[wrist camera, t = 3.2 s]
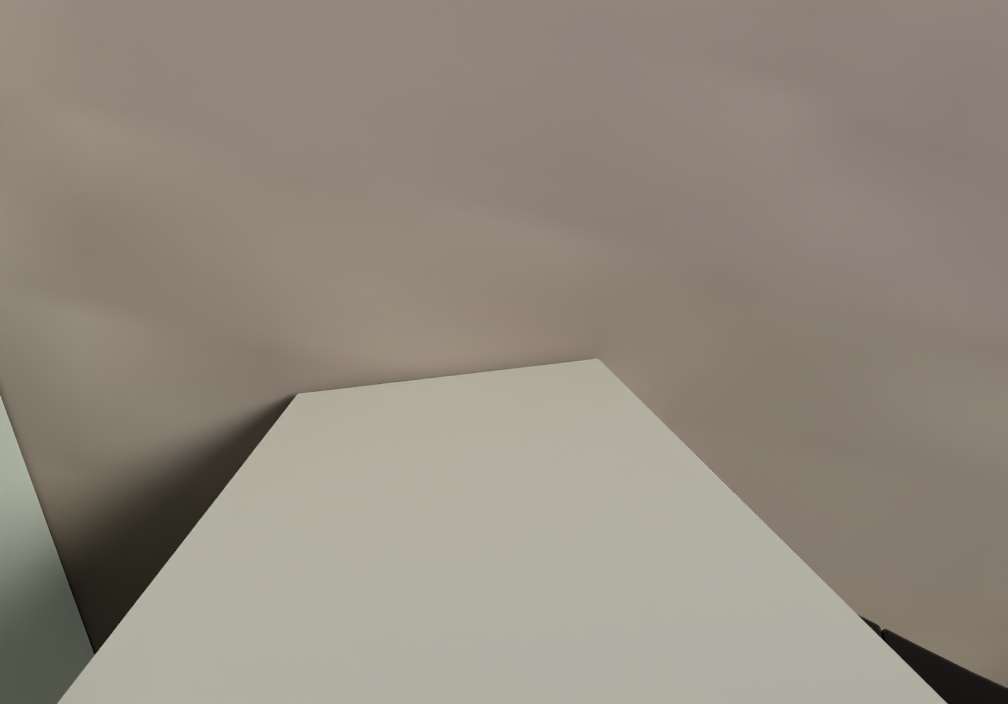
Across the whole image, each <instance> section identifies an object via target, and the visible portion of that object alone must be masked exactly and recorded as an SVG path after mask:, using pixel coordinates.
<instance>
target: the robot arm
mask: <svg viewBox="0 0 1008 704" xmlns="http://www.w3.org/2000/svg"><path fill="white" fill-rule="evenodd" d="M857 615H858V614H857ZM858 616H859V617H860V618H861V619H862V620H863V621H864V622H865V623H866V624H867V625H868V626H869V627H870V628H871V629H872V630H873V631H874V632H875V633H876V634H877V635H878V636H879V637H880V638H881V639H882V640H883V641H884V642H885V643H886V644H888V645H889V646H890V647H891V648H892V649H893V650H894V651H895V652H896V653H897V654H898V655H899V656H900V657H901V658H902V659H903V660H904V661H905V662H906V663H907V664H908V665H909V666H910V667H911V668H912V669H913V670H914V671H915V672H916V673H917V674H918V675H919V676H920V677H921V678H922V679H923V680H924V681H925V682H926V683H927V684H928V685H929V686H930V687H931V688H932V689H933V690H934V691H935V692H936V693H937V694H938V695H939V696H940V697H941V698H942V699H943V700H944V701H945V702H946V703H947V704H1008V688H1006V687H1004V686H1001V685H999V684H997V683H995V682H993V681H990V680H988V679H986V678H984V677H982V676H980V675H977V674H975V673H973V672H971V671H969V670H967V669H965V668H963V667H961V666H959V665H957V664H955V663H953V662H951V661H949V660H947V659H945V658H943V657H941V656H939V655H937V654H935V653H932V652H930V651H928V650H926V649H924V648H922V647H920V646H918V645H916V644H914V643H912V642H911V641H909V640H907V639H905V638H903V637H901V636H899V635H897V634H895V633H893V632H891V631H889V630H887V629H883V630H882V631H881V628H880V627H879V625H877V624H875V623H873V622H871V621H869V620H867V619H865V618H863V617H861V616H860V615H858Z"/></svg>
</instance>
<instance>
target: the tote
mask: <svg viewBox="0 0 1008 704" xmlns="http://www.w3.org/2000/svg"><path fill="white" fill-rule="evenodd" d="M93 657H94V653H93V650H92V647H91V645H90V642H89V639H88V636H87V633H86V631H85V628H84V625H83V622H82V620H81V617H80V614H79V611H78V609H77V606H76V603H75V600H74V598H73V595H72V592H71V589H70V587H69V584H68V581H67V578H66V576H65V573H64V570H63V567H62V564H61V562H60V559H59V556H58V553H57V551H56V548H55V545H54V542H53V540H52V537H51V534H50V531H49V529H48V526H47V523H46V520H45V518H44V515H43V512H42V509H41V507H40V504H39V501H38V498H37V496H36V493H35V490H34V487H33V484H32V482H31V479H30V476H29V473H28V471H27V468H26V465H25V462H24V460H23V457H22V454H21V451H20V449H19V446H18V443H17V440H16V438H15V435H14V432H13V429H12V427H11V424H10V421H9V418H8V415H7V413H6V410H5V407H4V404H3V402H2V399H1V396H0V704H57V703H58V702H59V701H60V699H61V698H62V697H63V696H64V694H65V693H66V692H67V690H68V689H69V688H70V687H71V685H72V684H73V683H74V681H75V680H76V679H77V678H78V676H79V675H80V674H81V672H82V671H83V670H84V668H85V667H86V666H87V665H88V663H89V662H90V661H91V659H92V658H93Z"/></svg>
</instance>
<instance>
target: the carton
mask: <svg viewBox="0 0 1008 704" xmlns="http://www.w3.org/2000/svg"><path fill="white" fill-rule="evenodd" d="M57 704H947V703H946V702H945V701H944V700H943V699H942V698H941V697H940V696H939V695H938V694H937V693H936V692H935V691H934V690H933V689H932V688H931V687H930V686H929V685H928V684H927V683H926V682H925V681H924V680H923V679H922V678H921V677H920V676H919V675H918V674H917V673H916V672H915V671H914V670H913V669H912V668H911V667H910V666H909V665H908V664H907V663H906V662H905V661H904V660H903V659H902V658H901V657H900V656H899V655H898V654H897V653H896V652H895V651H894V650H893V649H892V648H891V647H890V646H889V645H888V644H886V643H885V642H884V641H883V640H882V639H881V638H880V637H879V636H878V635H877V634H876V633H875V632H874V631H873V630H872V629H871V628H870V627H869V626H868V625H867V624H866V623H865V622H864V621H863V620H862V619H861V618H860V617H859V616H858V615H857V614H856V613H855V612H854V611H853V610H852V609H851V608H850V607H849V606H848V605H847V604H846V603H845V602H844V601H843V600H842V599H841V598H840V597H839V596H838V595H837V594H836V593H835V592H834V591H833V590H832V589H831V588H830V587H829V586H828V585H827V584H826V583H825V582H824V581H823V580H822V579H821V578H820V577H819V576H818V575H817V574H816V573H815V572H814V571H813V570H812V569H811V568H810V567H809V566H808V565H807V564H805V563H804V562H803V561H802V560H801V559H800V558H799V557H798V556H797V555H796V554H795V553H794V552H793V551H792V550H791V549H790V548H789V547H788V546H787V545H786V544H785V543H784V542H783V541H782V540H781V539H780V538H779V537H778V536H777V535H776V534H775V533H774V532H773V531H772V530H771V529H770V528H769V527H768V526H767V525H766V524H765V523H764V522H763V521H762V520H761V519H760V518H759V517H758V516H757V515H756V514H755V513H754V512H753V511H752V510H751V509H750V508H749V507H748V506H747V505H746V504H745V503H744V502H743V501H742V500H741V499H740V498H739V497H738V496H737V495H736V494H735V493H734V492H733V491H732V490H731V489H730V488H729V487H728V486H727V485H725V484H724V483H723V482H722V481H721V480H720V479H719V478H718V477H717V476H716V475H715V474H714V473H713V472H712V471H711V470H710V469H709V468H708V467H707V466H706V465H705V464H704V463H703V462H702V461H701V460H700V459H699V458H698V457H697V456H696V455H695V454H694V453H693V452H692V451H691V450H690V449H689V448H688V447H687V446H686V445H685V444H684V443H683V442H682V441H681V440H680V439H679V438H678V437H677V436H676V435H675V434H674V433H673V432H672V431H671V430H670V429H669V428H668V427H667V426H666V425H665V424H664V423H663V422H662V421H661V420H660V419H659V418H658V417H657V416H656V415H655V414H654V413H653V412H652V411H651V410H650V409H649V408H648V407H647V406H646V405H644V404H643V403H642V402H641V401H640V400H639V399H638V398H637V397H636V396H635V395H634V394H633V393H632V392H631V391H630V390H629V389H628V388H627V387H626V386H625V385H624V384H623V383H622V382H621V381H620V380H619V379H618V378H617V377H616V376H615V375H614V374H613V373H612V372H611V371H610V370H609V369H608V368H607V367H606V366H605V365H604V364H603V363H602V362H601V361H600V360H599V359H591V360H582V361H574V362H565V363H557V364H548V365H540V366H531V367H522V368H514V369H505V370H497V371H488V372H480V373H471V374H463V375H454V376H446V377H437V378H428V379H420V380H411V381H403V382H394V383H386V384H377V385H369V386H360V387H351V388H343V389H334V390H326V391H317V392H309V393H300V394H297V395H296V397H295V398H294V399H293V401H292V402H291V403H290V404H289V406H288V407H287V408H286V410H285V411H284V412H283V413H282V415H281V416H280V417H279V419H278V420H277V421H276V422H275V424H274V425H273V426H272V428H271V429H270V430H269V431H268V433H267V434H266V435H265V437H264V438H263V439H262V440H261V442H260V443H259V444H258V446H257V447H256V448H255V449H254V451H253V452H252V453H251V455H250V456H249V457H248V459H247V460H246V461H245V462H244V464H243V465H242V466H241V468H240V469H239V470H238V471H237V473H236V474H235V475H234V477H233V478H232V479H231V480H230V482H229V483H228V484H227V486H226V487H225V488H224V489H223V491H222V492H221V493H220V495H219V496H218V497H217V498H216V500H215V501H214V502H213V504H212V505H211V506H210V507H209V509H208V510H207V511H206V513H205V514H204V515H203V516H202V518H201V519H200V520H199V522H198V523H197V524H196V526H195V527H194V528H193V529H192V531H191V532H190V533H189V535H188V536H187V537H186V538H185V540H184V541H183V542H182V544H181V545H180V546H179V547H178V549H177V550H176V551H175V553H174V554H173V555H172V556H171V558H170V559H169V560H168V562H167V563H166V564H165V565H164V567H163V568H162V569H161V571H160V572H159V573H158V574H157V576H156V577H155V578H154V580H153V581H152V582H151V583H150V585H149V586H148V587H147V589H146V590H145V591H144V592H143V594H142V595H141V596H140V598H139V599H138V600H137V602H136V603H135V604H134V605H133V607H132V608H131V609H130V611H129V612H128V613H127V614H126V616H125V617H124V618H123V620H122V621H121V622H120V623H119V625H118V626H117V627H116V629H115V630H114V631H113V632H112V634H111V635H110V636H109V638H108V639H107V640H106V641H105V643H104V644H103V645H102V647H101V648H100V649H99V650H98V652H97V653H96V654H95V656H94V657H93V658H92V659H91V661H90V662H89V663H88V665H87V666H86V667H85V668H84V670H83V671H82V672H81V674H80V675H79V676H78V678H77V679H76V680H75V681H74V683H73V684H72V685H71V687H70V688H69V689H68V690H67V692H66V693H65V694H64V696H63V697H62V698H61V699H60V701H59V702H58V703H57Z"/></svg>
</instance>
